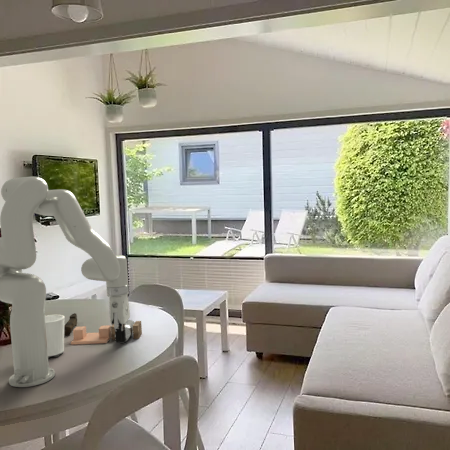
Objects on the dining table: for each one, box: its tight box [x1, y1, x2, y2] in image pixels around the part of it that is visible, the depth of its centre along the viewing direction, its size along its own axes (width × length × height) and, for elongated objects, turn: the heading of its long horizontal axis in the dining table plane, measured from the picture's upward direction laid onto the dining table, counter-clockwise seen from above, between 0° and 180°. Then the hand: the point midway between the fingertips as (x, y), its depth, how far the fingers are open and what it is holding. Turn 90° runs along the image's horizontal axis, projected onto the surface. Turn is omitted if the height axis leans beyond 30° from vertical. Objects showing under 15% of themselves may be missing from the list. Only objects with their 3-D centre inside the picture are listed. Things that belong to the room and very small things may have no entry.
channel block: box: [111, 320, 143, 341], centre depth 172 cm, size 6×10×5 cm, turn 89°
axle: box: [115, 319, 136, 344], centre depth 171 cm, size 12×5×5 cm, turn 179°
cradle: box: [70, 324, 112, 345], centre depth 171 cm, size 10×13×4 cm
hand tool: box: [64, 312, 78, 337], centre depth 186 cm, size 19×4×5 cm, turn 4°
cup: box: [45, 314, 66, 359], centre depth 155 cm, size 10×10×13 cm
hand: (120, 341), depth 163 cm, fingers closed
